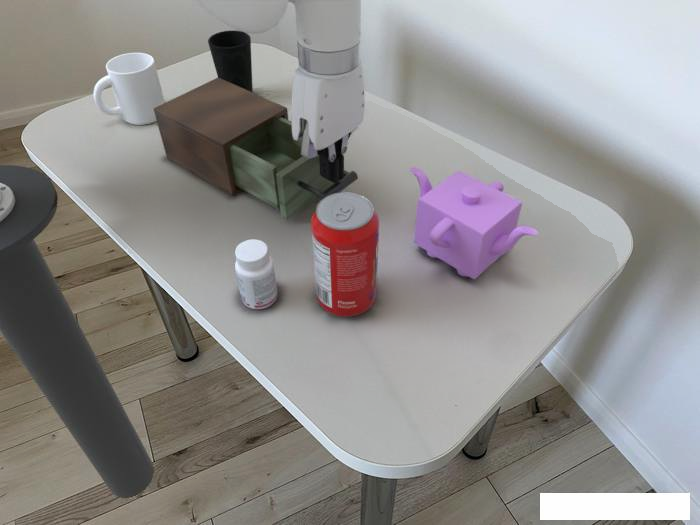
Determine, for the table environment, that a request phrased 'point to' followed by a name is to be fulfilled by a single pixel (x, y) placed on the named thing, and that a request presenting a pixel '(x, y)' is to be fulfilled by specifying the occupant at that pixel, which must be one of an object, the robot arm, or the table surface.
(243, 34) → the cup
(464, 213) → the teapot
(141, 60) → the mug
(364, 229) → the soda can
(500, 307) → the table surface
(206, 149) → the cabinet
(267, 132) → the drawer
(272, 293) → the pill bottle
